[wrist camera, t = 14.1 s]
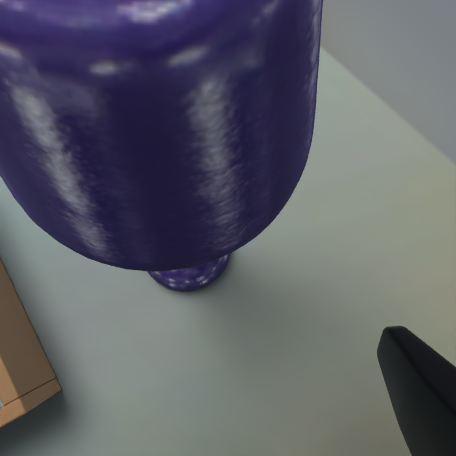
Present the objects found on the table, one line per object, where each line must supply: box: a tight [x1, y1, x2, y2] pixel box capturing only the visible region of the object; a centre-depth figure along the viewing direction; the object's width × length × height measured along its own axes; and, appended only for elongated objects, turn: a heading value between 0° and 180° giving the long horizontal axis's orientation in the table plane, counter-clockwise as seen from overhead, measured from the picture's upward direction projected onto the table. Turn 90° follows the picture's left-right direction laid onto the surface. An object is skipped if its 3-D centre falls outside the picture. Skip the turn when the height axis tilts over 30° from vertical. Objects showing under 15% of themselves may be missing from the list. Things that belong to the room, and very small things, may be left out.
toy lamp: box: [0, 0, 323, 291], centre depth 10 cm, size 5×5×17 cm
